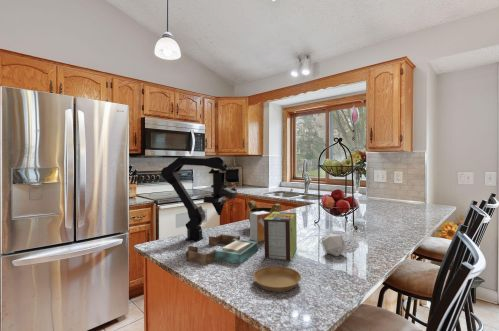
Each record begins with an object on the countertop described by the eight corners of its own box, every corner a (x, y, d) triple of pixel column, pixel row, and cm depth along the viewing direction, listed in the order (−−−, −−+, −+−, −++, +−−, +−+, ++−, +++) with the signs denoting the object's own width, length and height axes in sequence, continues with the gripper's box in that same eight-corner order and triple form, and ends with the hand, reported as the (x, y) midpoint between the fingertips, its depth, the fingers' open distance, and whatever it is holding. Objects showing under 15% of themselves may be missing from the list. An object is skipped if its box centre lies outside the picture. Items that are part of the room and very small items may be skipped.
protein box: (296, 248, 114) (296, 212, 114) (290, 261, 99) (290, 220, 99) (273, 246, 117) (272, 211, 117) (263, 258, 103) (263, 218, 102)
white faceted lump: (327, 260, 101) (343, 241, 99) (314, 244, 108) (329, 226, 106) (338, 262, 106) (354, 245, 104) (325, 246, 113) (339, 230, 111)
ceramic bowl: (288, 229, 145) (288, 202, 145) (268, 235, 133) (267, 206, 133) (259, 223, 161) (259, 198, 161) (238, 228, 149) (238, 201, 149)
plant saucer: (282, 301, 71) (282, 292, 71) (243, 284, 81) (243, 276, 81) (310, 282, 82) (310, 274, 82) (272, 269, 92) (272, 262, 92)
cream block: (222, 257, 105) (222, 247, 105) (236, 250, 114) (236, 240, 114) (237, 260, 101) (237, 250, 101) (250, 252, 110) (250, 243, 110)
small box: (257, 242, 122) (257, 214, 122) (249, 239, 128) (249, 212, 127) (271, 239, 127) (270, 212, 127) (263, 236, 132) (263, 210, 132)
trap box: (180, 259, 103) (180, 250, 102) (215, 240, 126) (215, 233, 126) (234, 269, 92) (234, 259, 92) (262, 246, 116) (262, 239, 116)
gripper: (223, 185, 115) (224, 220, 115) (242, 181, 132) (242, 212, 132) (202, 184, 120) (203, 218, 120) (223, 181, 137) (223, 211, 137)
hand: (219, 215), depth 127 cm, fingers closed
